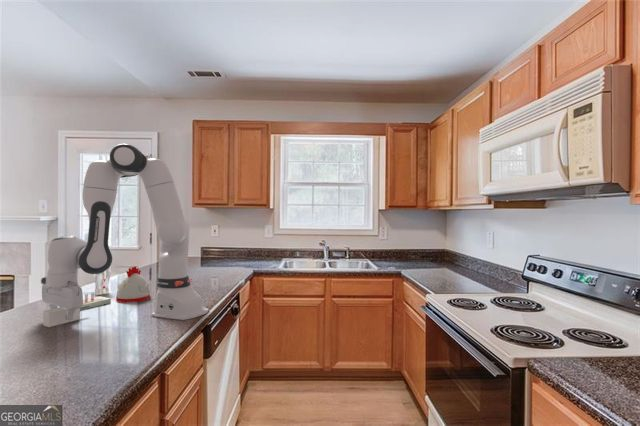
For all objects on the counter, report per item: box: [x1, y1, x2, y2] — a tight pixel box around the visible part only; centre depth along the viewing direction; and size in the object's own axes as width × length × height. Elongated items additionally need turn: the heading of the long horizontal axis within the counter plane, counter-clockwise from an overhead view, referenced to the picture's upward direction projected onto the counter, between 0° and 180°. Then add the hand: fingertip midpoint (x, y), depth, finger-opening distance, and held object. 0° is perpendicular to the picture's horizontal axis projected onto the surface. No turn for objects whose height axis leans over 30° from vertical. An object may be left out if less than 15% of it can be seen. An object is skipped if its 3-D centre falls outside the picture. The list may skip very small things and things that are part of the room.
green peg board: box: [59, 291, 112, 311], centre depth 144 cm, size 8×16×5 cm, turn 154°
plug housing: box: [42, 305, 90, 328], centre depth 125 cm, size 4×14×5 cm, turn 154°
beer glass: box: [93, 266, 112, 296], centre depth 165 cm, size 7×7×15 cm
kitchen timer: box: [115, 266, 151, 303], centre depth 158 cm, size 14×14×15 cm
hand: (62, 317), depth 123 cm, fingers open, 8 cm apart
